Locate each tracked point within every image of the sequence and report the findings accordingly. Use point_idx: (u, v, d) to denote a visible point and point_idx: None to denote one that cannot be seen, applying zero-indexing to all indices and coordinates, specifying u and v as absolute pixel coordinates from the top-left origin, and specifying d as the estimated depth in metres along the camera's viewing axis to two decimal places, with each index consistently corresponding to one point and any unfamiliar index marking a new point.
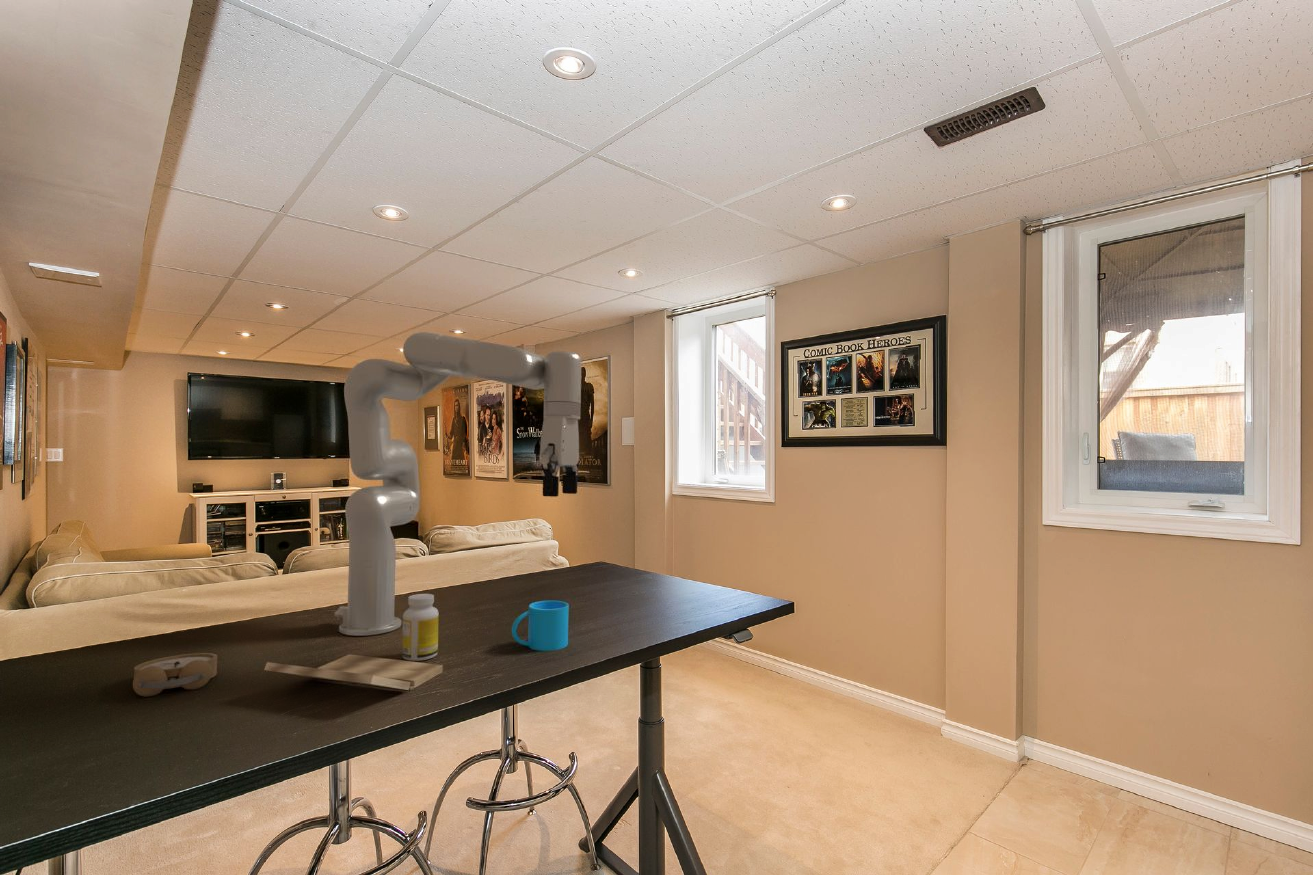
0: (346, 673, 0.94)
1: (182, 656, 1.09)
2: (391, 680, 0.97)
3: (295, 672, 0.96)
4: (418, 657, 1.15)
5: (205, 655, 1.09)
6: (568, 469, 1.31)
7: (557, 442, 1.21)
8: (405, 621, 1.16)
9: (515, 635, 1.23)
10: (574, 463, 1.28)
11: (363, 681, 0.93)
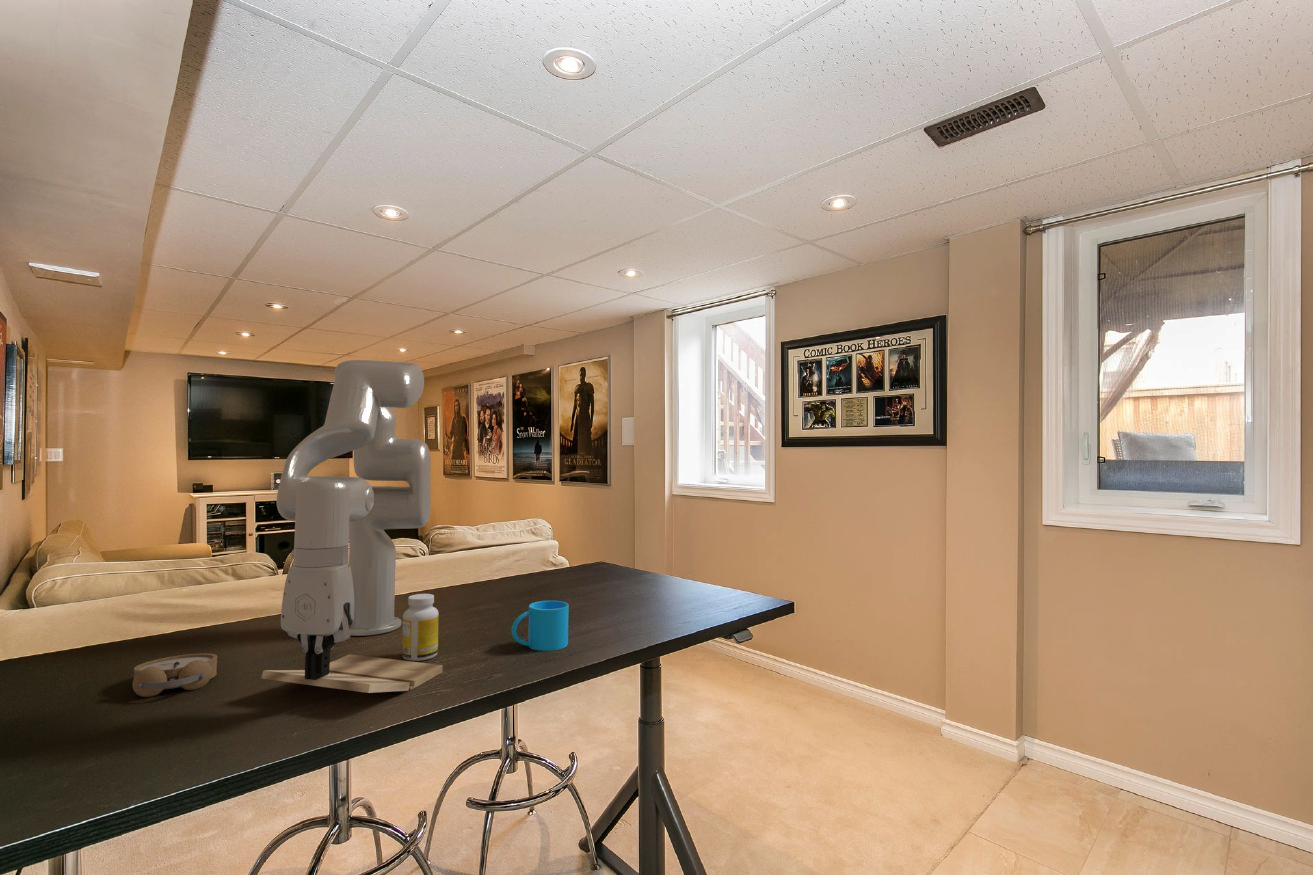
0: (343, 682, 0.93)
1: (182, 656, 1.08)
2: (389, 685, 0.97)
3: (292, 681, 0.95)
4: (418, 657, 1.15)
5: (205, 655, 1.09)
6: None
7: (352, 600, 0.95)
8: (405, 621, 1.16)
9: (515, 635, 1.23)
10: None
11: (360, 690, 0.92)
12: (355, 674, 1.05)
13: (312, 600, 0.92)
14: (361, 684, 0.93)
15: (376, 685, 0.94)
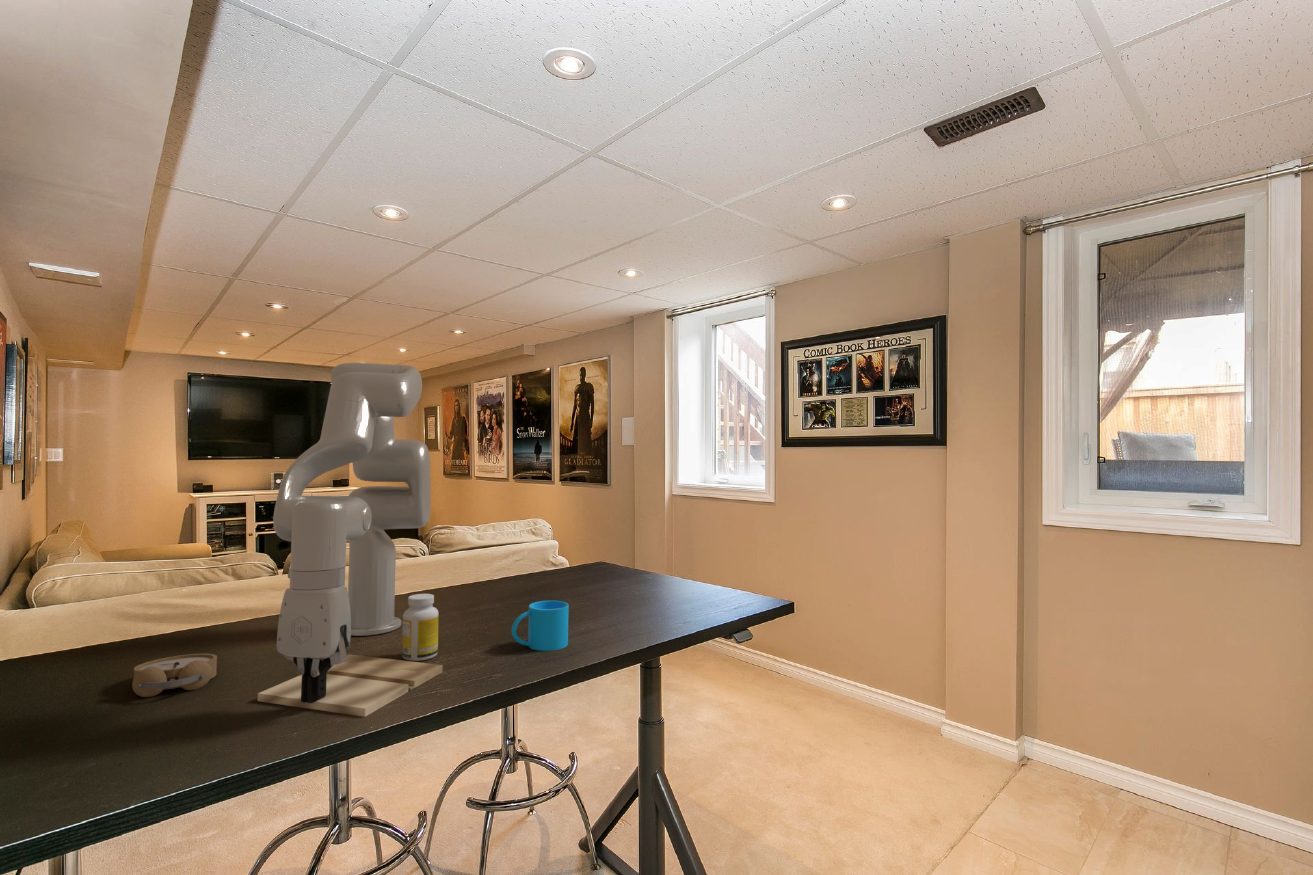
0: (338, 706, 0.92)
1: (182, 656, 1.08)
2: (387, 697, 0.96)
3: (288, 704, 0.95)
4: (418, 657, 1.15)
5: (205, 655, 1.09)
6: None
7: (348, 622, 0.95)
8: (405, 621, 1.16)
9: (515, 635, 1.23)
10: None
11: (357, 714, 0.92)
12: (355, 674, 1.05)
13: (308, 623, 0.92)
14: (356, 708, 0.92)
15: (372, 705, 0.93)
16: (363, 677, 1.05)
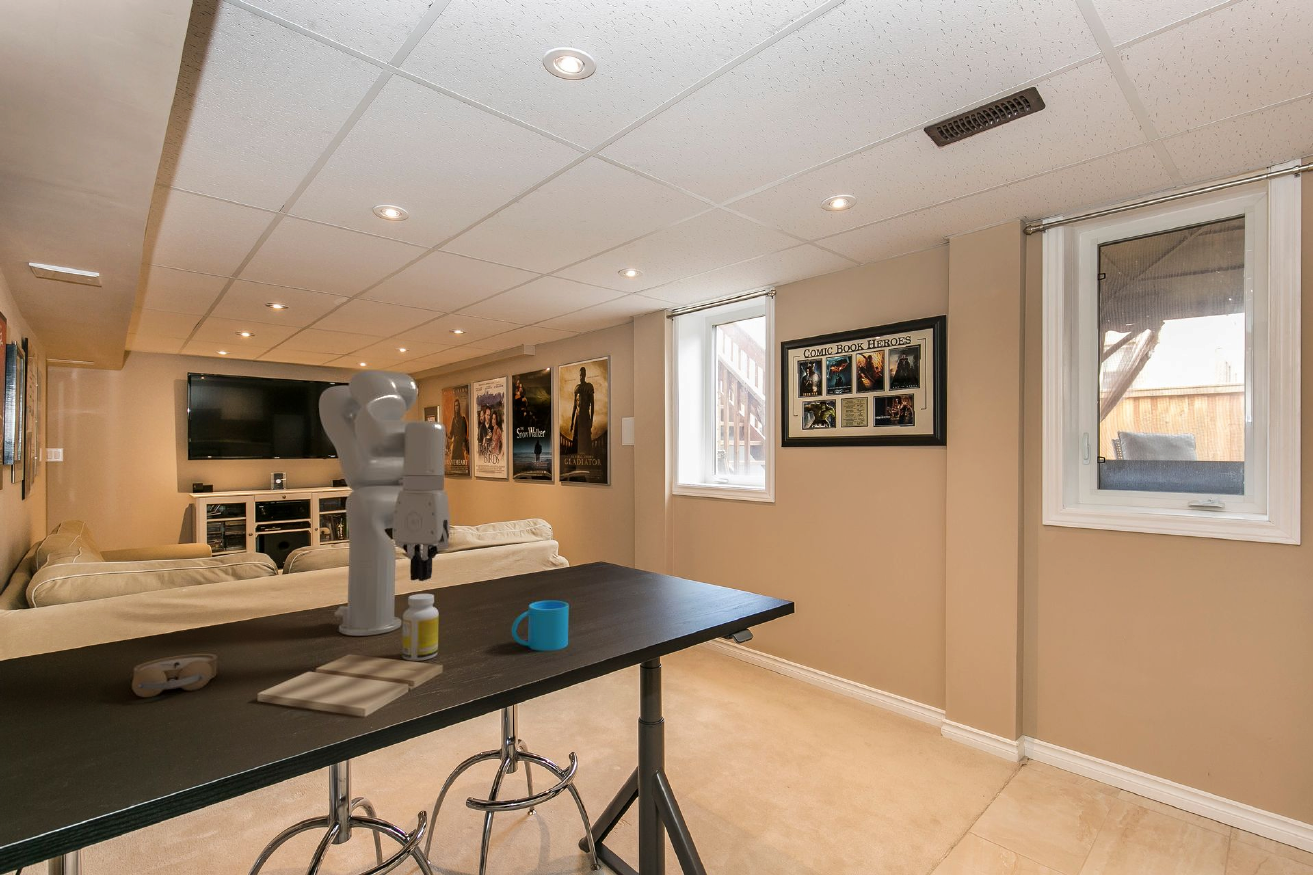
0: (338, 706, 0.92)
1: (182, 657, 1.08)
2: (387, 697, 0.96)
3: (288, 704, 0.95)
4: (418, 657, 1.15)
5: (205, 656, 1.09)
6: None
7: (448, 518, 1.19)
8: (405, 621, 1.16)
9: (515, 635, 1.23)
10: None
11: (357, 714, 0.92)
12: (355, 674, 1.05)
13: (419, 516, 1.16)
14: (356, 708, 0.92)
15: (372, 705, 0.93)
16: (363, 677, 1.05)
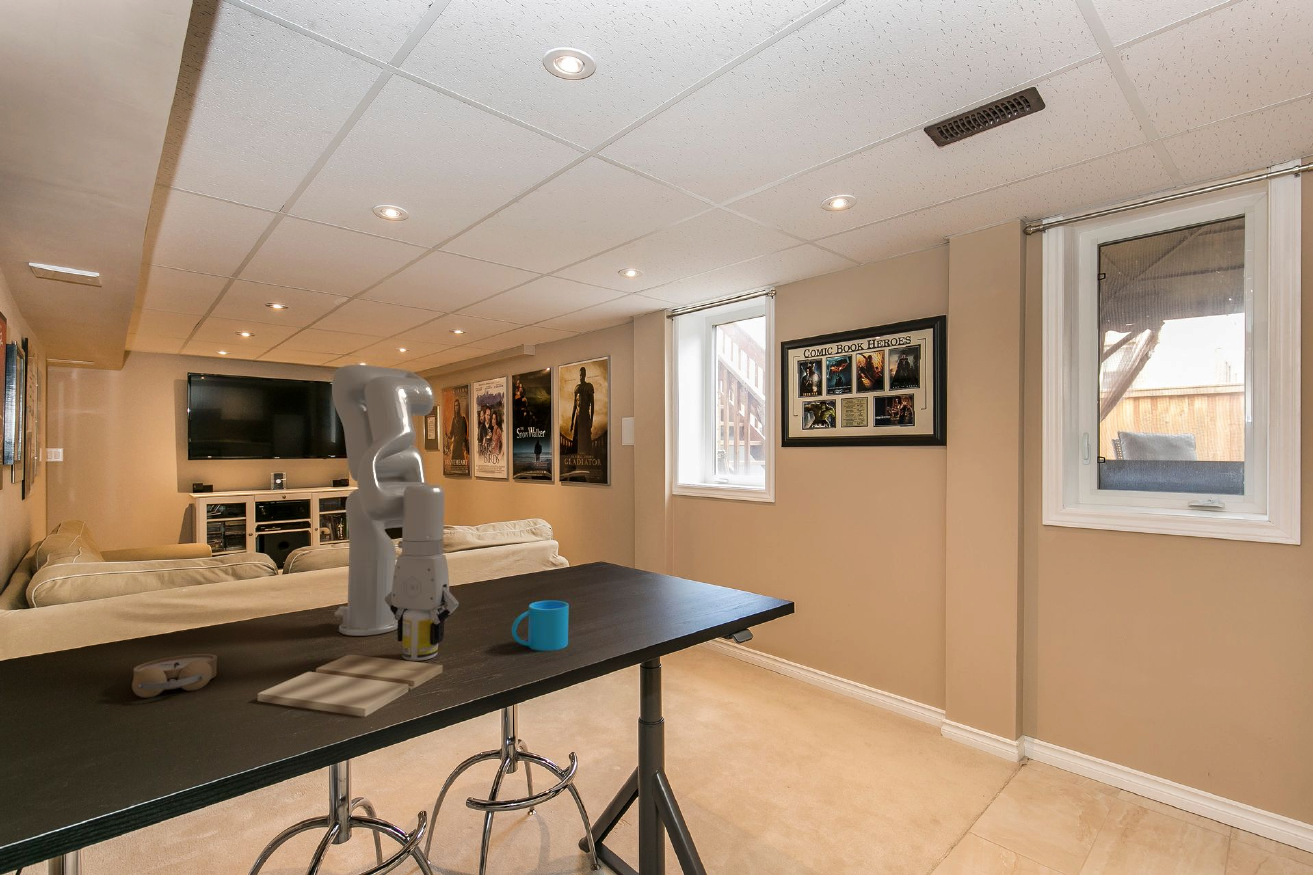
0: (338, 706, 0.92)
1: (182, 657, 1.08)
2: (387, 697, 0.96)
3: (288, 704, 0.95)
4: (418, 657, 1.15)
5: (205, 656, 1.09)
6: None
7: (447, 582, 1.19)
8: (405, 621, 1.16)
9: (515, 635, 1.23)
10: None
11: (357, 714, 0.92)
12: (355, 674, 1.05)
13: (418, 582, 1.16)
14: (356, 708, 0.92)
15: (372, 705, 0.93)
16: (363, 677, 1.05)
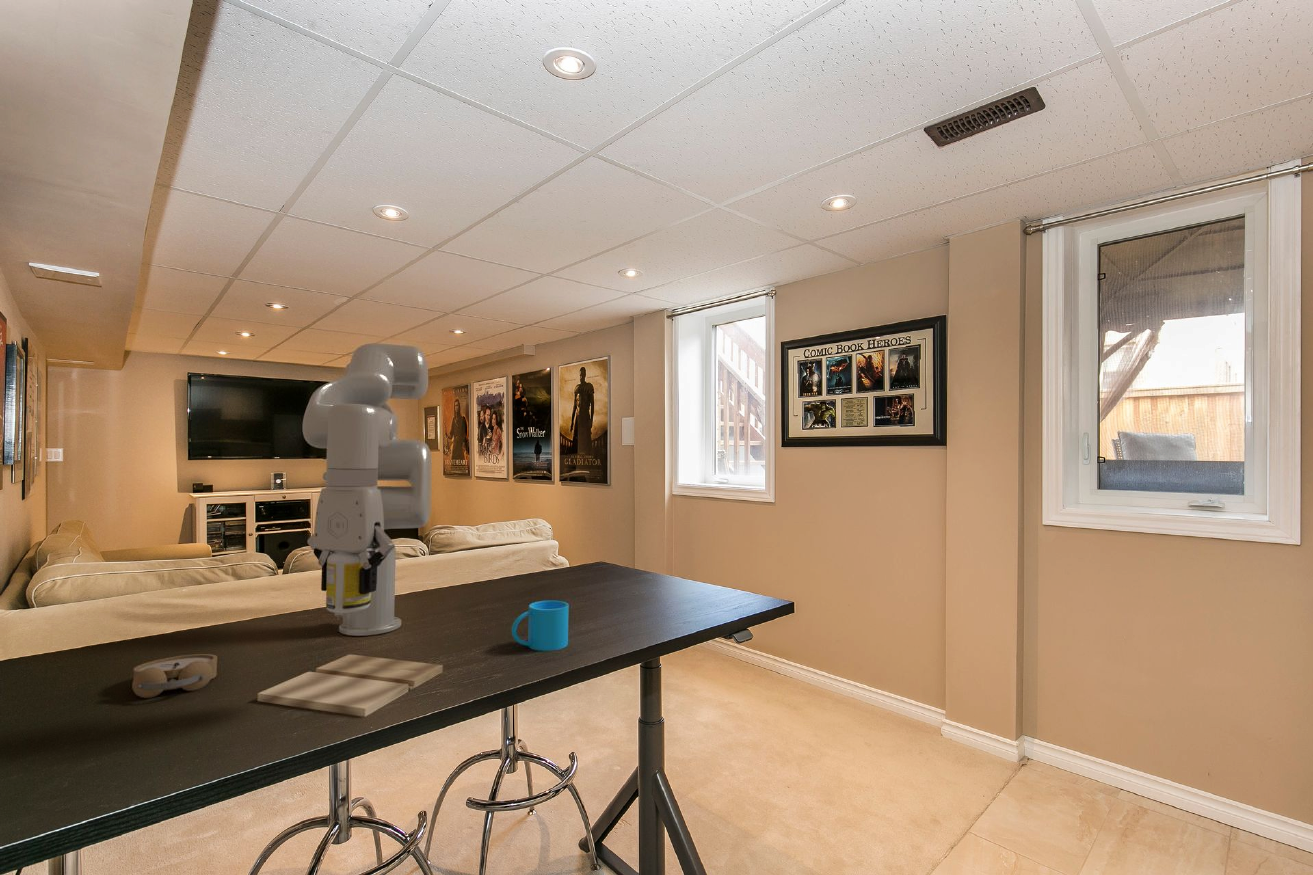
0: (338, 706, 0.92)
1: (182, 657, 1.08)
2: (387, 697, 0.96)
3: (288, 704, 0.95)
4: (344, 608, 0.96)
5: (205, 656, 1.09)
6: None
7: (382, 520, 0.99)
8: (328, 565, 0.96)
9: (515, 635, 1.23)
10: None
11: (357, 714, 0.92)
12: (355, 674, 1.05)
13: (344, 518, 0.96)
14: (356, 708, 0.92)
15: (372, 705, 0.93)
16: (363, 677, 1.05)
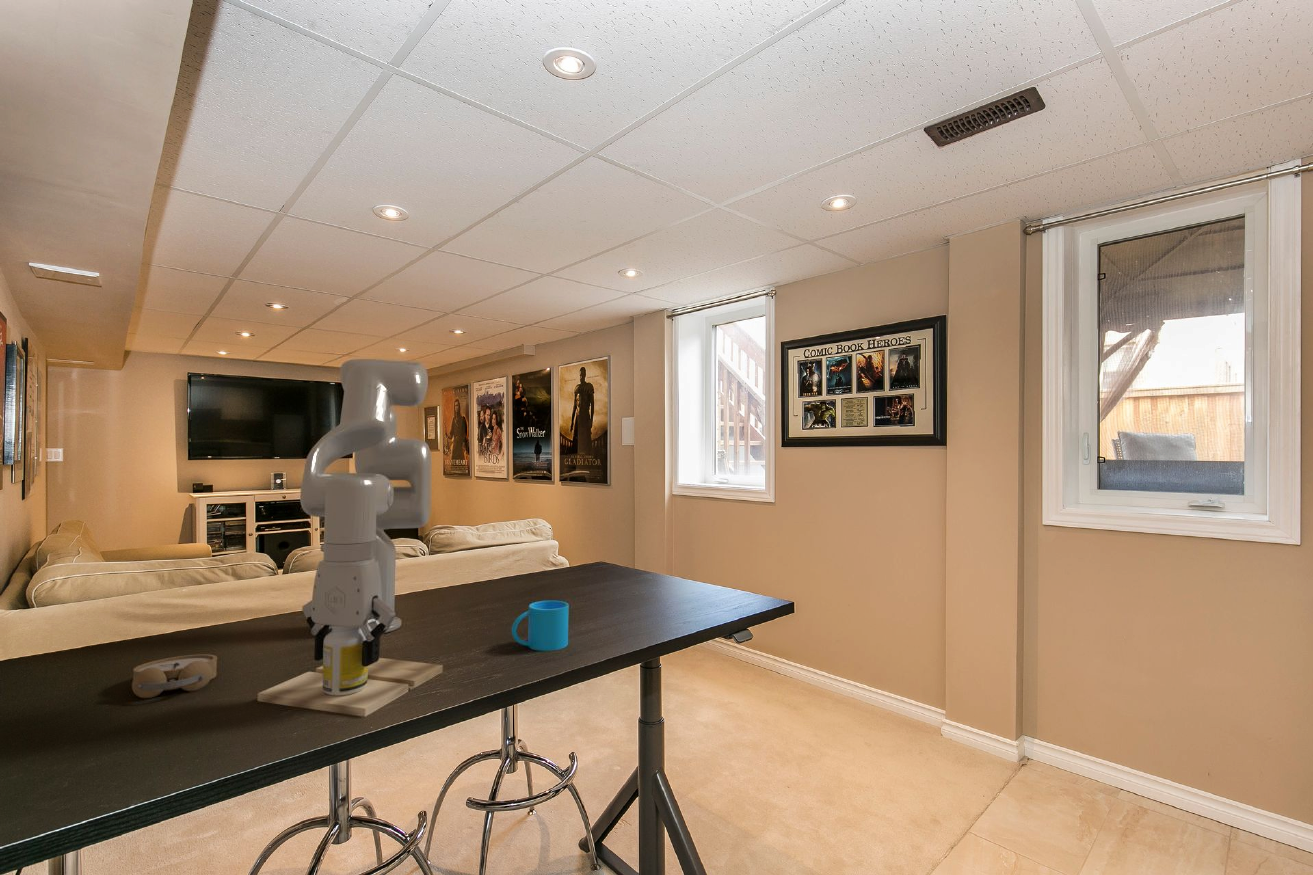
0: (338, 706, 0.92)
1: (181, 657, 1.08)
2: (387, 697, 0.96)
3: (288, 704, 0.95)
4: (340, 691, 0.95)
5: (205, 656, 1.08)
6: None
7: (379, 593, 0.99)
8: (325, 647, 0.96)
9: (515, 635, 1.23)
10: None
11: (357, 714, 0.92)
12: None
13: (342, 593, 0.96)
14: (356, 708, 0.92)
15: (372, 705, 0.93)
16: None
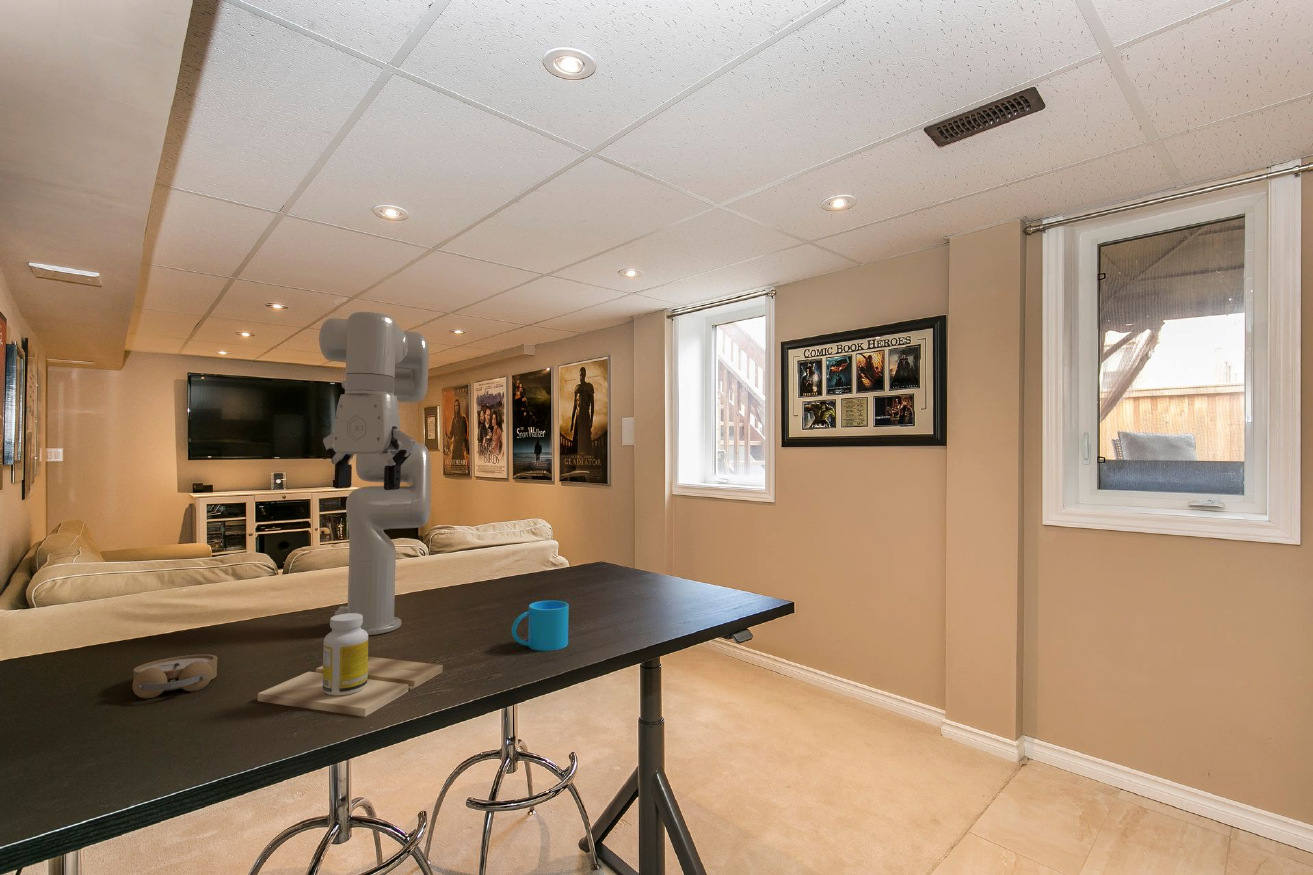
0: (338, 706, 0.92)
1: (181, 657, 1.08)
2: (387, 697, 0.96)
3: (288, 704, 0.95)
4: (340, 691, 0.95)
5: (205, 656, 1.08)
6: None
7: (398, 426, 1.03)
8: (325, 647, 0.96)
9: (515, 635, 1.23)
10: None
11: (357, 714, 0.92)
12: None
13: (363, 421, 1.00)
14: (356, 708, 0.92)
15: (372, 705, 0.93)
16: None
